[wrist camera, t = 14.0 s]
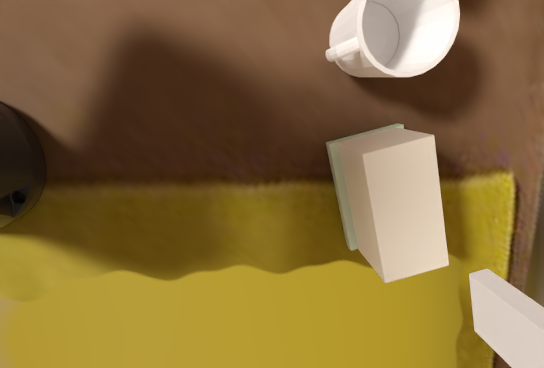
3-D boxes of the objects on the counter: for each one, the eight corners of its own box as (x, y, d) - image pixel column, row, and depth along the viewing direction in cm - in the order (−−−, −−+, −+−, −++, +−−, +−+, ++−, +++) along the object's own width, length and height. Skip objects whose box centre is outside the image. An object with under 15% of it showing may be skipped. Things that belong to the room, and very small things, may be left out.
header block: (346, 245, 44) (365, 270, 38) (325, 142, 41) (342, 151, 34) (412, 227, 45) (441, 249, 38) (397, 123, 41) (426, 128, 35)
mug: (388, -18, 37) (445, -59, 27) (411, 62, 39) (470, 52, 29) (295, 23, 37) (317, -3, 27) (324, 101, 39) (354, 104, 29)
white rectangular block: (410, 234, 43) (449, 265, 35) (358, 249, 43) (385, 283, 35) (395, 127, 39) (434, 135, 32) (337, 142, 39) (362, 154, 31)
